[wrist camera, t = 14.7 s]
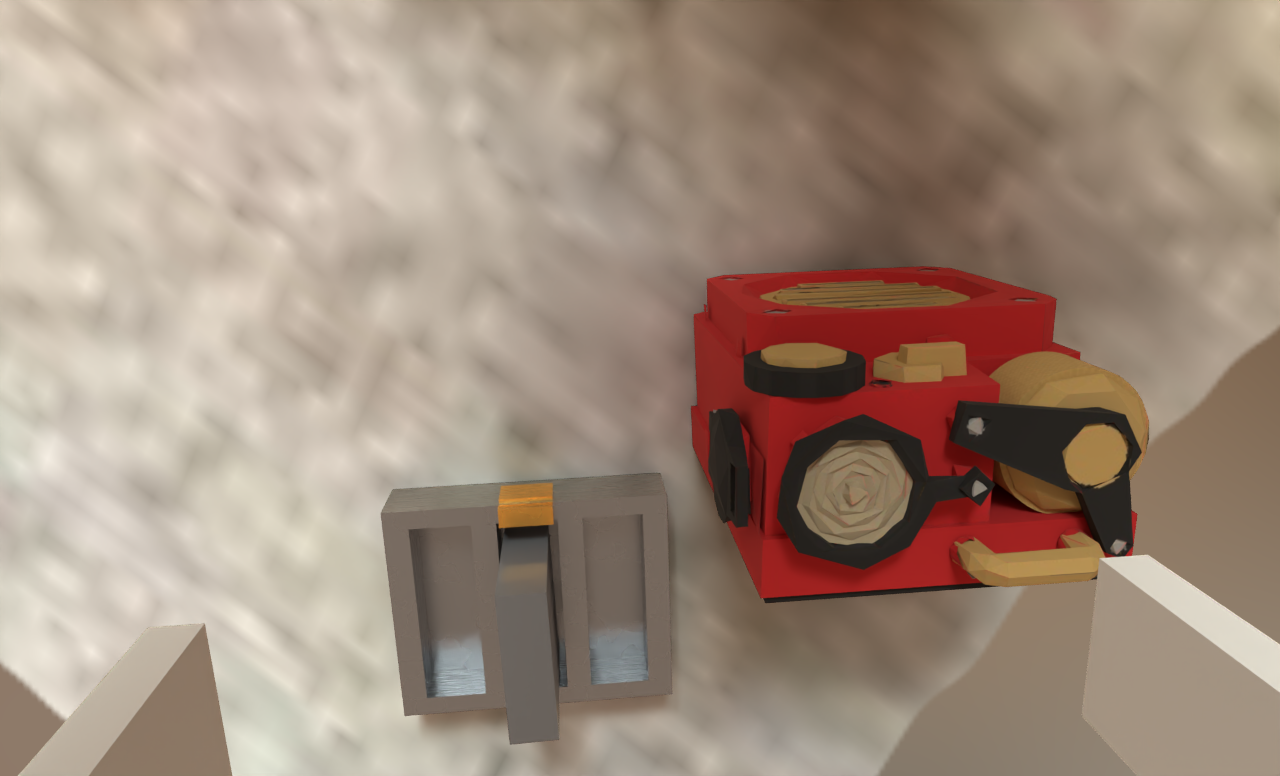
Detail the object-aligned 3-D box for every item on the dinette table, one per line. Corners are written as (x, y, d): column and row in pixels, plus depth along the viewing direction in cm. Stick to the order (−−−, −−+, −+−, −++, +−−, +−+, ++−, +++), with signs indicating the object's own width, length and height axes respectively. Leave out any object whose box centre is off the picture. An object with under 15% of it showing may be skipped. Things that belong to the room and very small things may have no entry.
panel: (504, 526, 48) (494, 597, 41) (548, 523, 48) (546, 592, 41) (517, 654, 50) (510, 744, 43) (559, 650, 51) (559, 739, 43)
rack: (392, 486, 48) (377, 514, 44) (659, 469, 49) (668, 495, 45) (414, 681, 51) (402, 722, 47) (665, 661, 52) (673, 700, 48)
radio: (954, 262, 48) (1223, 335, 28) (944, 439, 50) (1183, 616, 31) (667, 275, 46) (743, 360, 27) (672, 456, 49) (744, 650, 30)
